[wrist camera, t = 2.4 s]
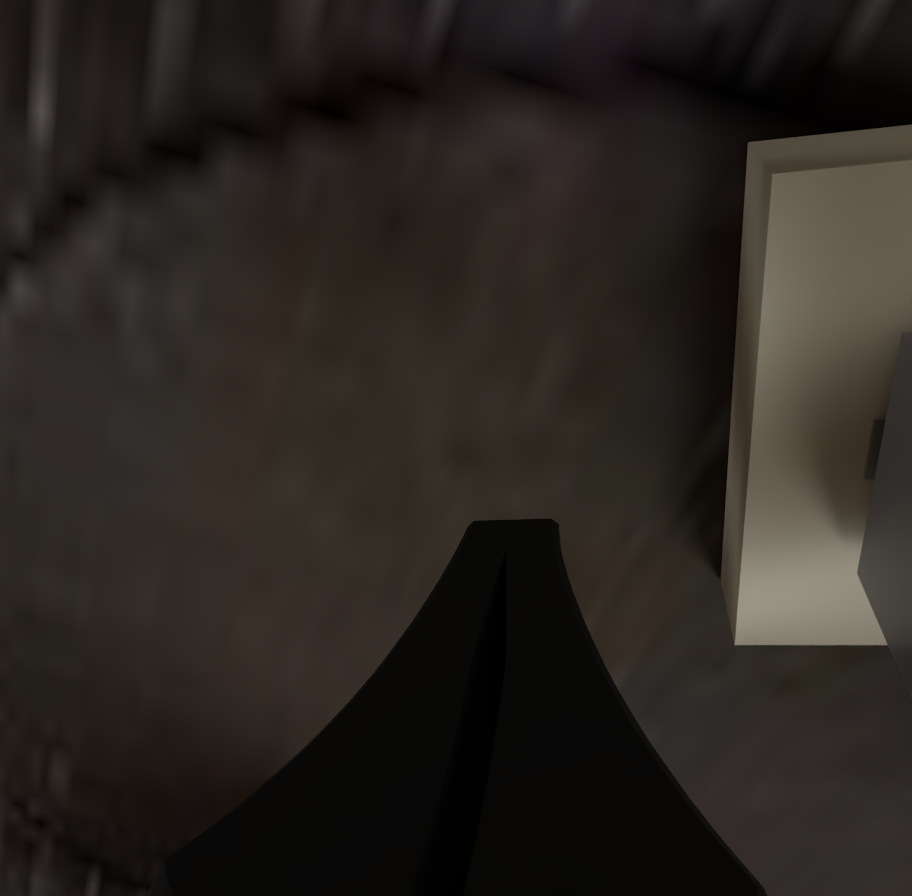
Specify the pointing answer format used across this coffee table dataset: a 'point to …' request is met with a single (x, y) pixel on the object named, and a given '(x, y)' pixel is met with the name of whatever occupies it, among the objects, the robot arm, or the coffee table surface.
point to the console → (813, 379)
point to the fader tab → (893, 522)
